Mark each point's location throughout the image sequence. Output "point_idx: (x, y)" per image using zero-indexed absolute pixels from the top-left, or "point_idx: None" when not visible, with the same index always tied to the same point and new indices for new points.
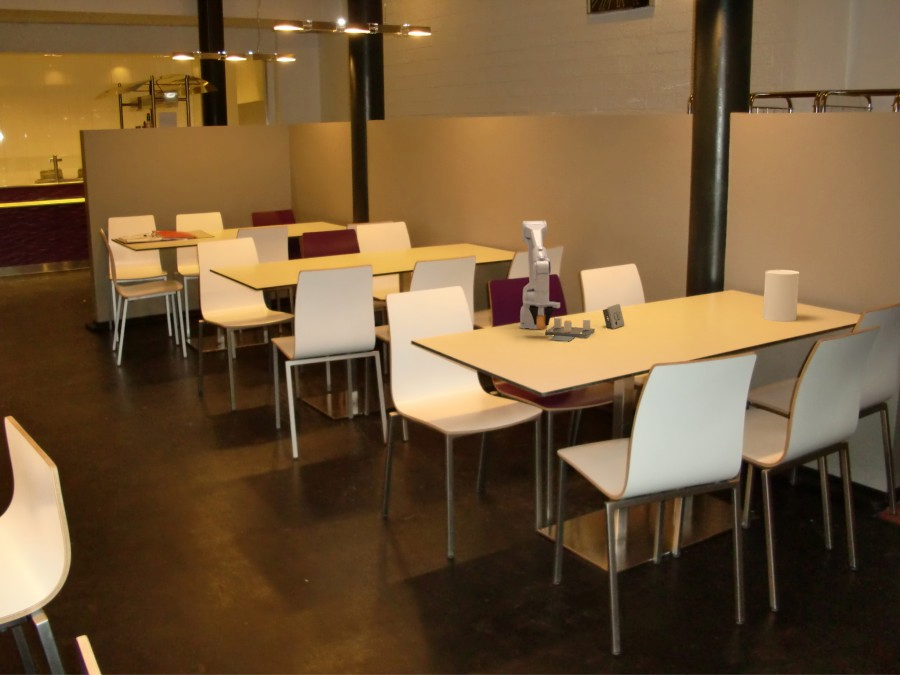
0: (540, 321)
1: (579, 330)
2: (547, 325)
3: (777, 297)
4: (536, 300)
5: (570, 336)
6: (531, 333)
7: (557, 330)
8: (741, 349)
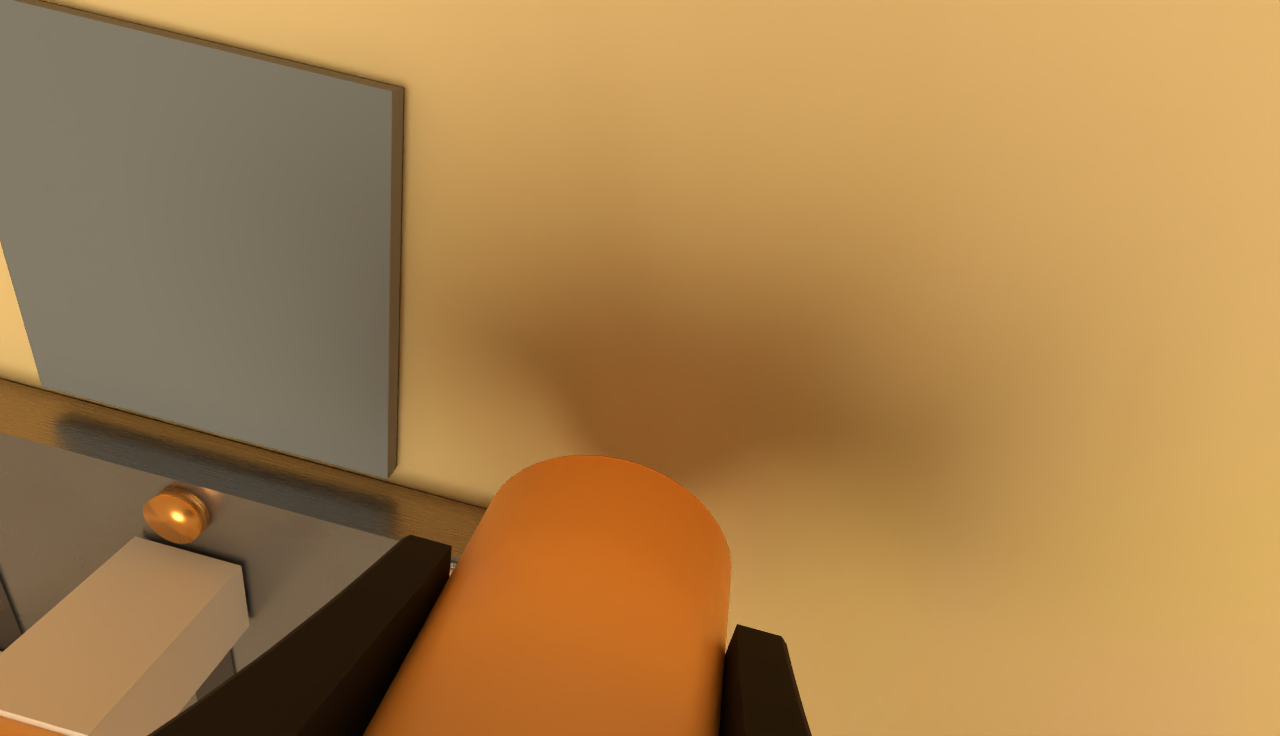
0: (551, 635)
1: None
2: (399, 551)
3: None
4: None
5: (120, 405)
6: (842, 661)
7: None
8: None
